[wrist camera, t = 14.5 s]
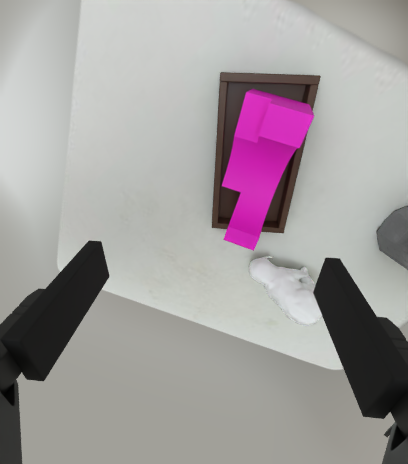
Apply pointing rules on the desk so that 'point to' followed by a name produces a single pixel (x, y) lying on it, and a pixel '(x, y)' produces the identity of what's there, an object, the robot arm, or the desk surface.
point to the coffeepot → (395, 236)
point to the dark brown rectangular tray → (228, 116)
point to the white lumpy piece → (288, 290)
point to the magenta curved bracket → (261, 158)
